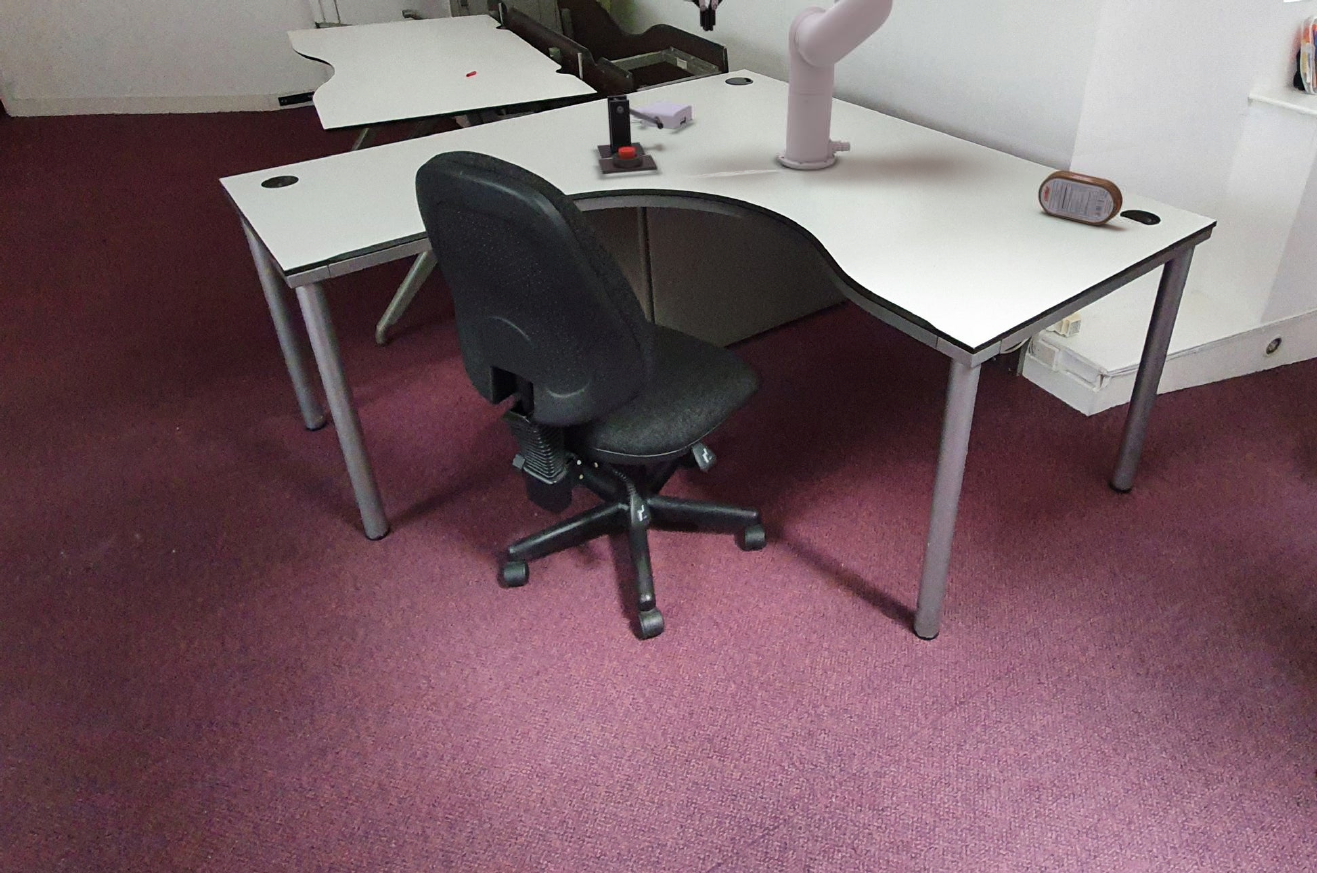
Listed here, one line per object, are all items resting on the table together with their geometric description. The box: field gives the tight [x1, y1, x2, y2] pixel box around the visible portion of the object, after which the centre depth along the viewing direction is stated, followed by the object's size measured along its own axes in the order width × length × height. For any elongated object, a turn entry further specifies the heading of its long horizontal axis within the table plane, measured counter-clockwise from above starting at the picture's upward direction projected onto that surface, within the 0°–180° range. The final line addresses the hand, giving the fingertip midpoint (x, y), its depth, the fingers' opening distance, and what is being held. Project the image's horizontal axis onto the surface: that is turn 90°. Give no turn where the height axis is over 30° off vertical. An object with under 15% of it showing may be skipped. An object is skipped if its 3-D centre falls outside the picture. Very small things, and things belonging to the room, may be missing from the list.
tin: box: [1037, 169, 1124, 226], centre depth 176 cm, size 15×3×8 cm, turn 48°
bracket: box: [597, 94, 646, 159], centre depth 214 cm, size 10×9×13 cm
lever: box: [613, 98, 664, 130], centre depth 213 cm, size 12×6×2 cm, turn 100°
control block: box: [598, 151, 658, 175], centre depth 208 cm, size 12×8×4 cm, turn 99°
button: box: [619, 147, 635, 159], centre depth 206 cm, size 4×4×2 cm
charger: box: [632, 101, 693, 130], centre depth 235 cm, size 5×9×15 cm
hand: (707, 29), depth 193 cm, fingers closed
